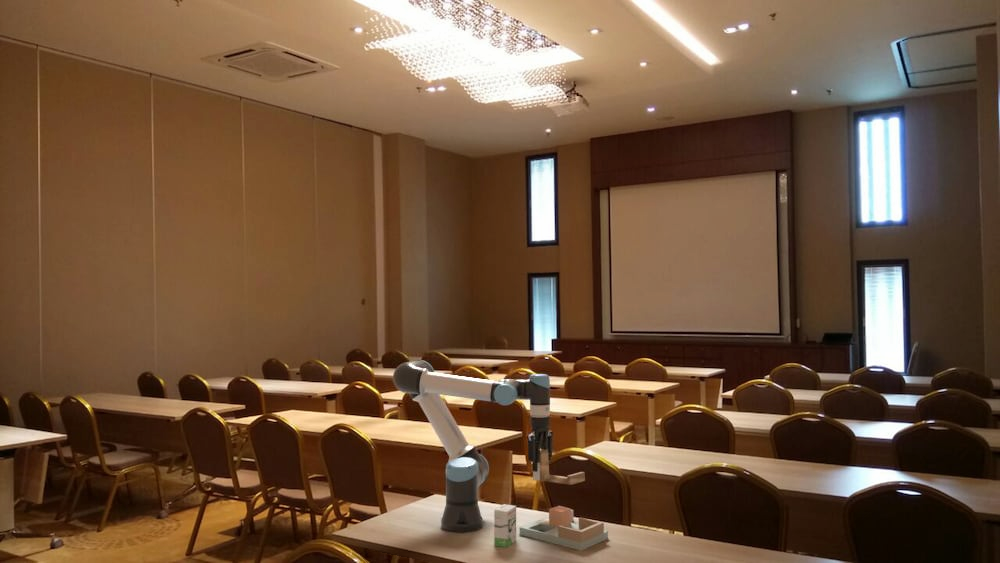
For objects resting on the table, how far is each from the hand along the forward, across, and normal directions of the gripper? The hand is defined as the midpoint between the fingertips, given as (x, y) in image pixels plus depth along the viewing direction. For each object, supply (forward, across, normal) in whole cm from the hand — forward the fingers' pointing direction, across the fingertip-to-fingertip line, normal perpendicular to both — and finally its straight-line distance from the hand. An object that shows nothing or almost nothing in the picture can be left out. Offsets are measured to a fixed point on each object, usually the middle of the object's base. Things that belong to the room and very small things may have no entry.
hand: (540, 478), depth 270 cm
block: (+13, -7, -14) cm, 20 cm away
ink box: (+15, -29, -7) cm, 33 cm away
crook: (0, +2, -7) cm, 7 cm away
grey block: (+15, +5, -8) cm, 18 cm away
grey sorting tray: (+15, -11, -18) cm, 26 cm away
